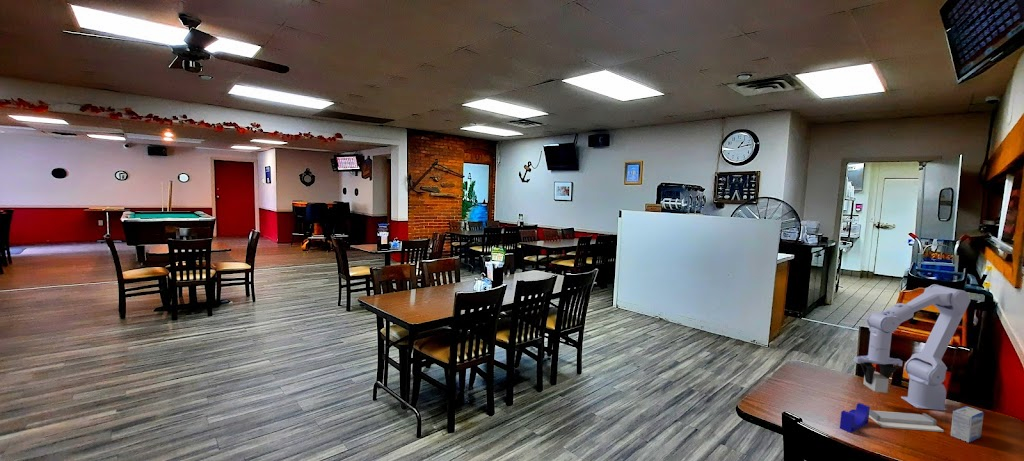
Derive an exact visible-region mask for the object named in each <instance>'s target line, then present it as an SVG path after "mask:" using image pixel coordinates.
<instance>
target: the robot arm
mask: <svg viewBox="0 0 1024 461" xmlns="http://www.w3.org/2000/svg"><path fill="white" fill-rule="evenodd" d="M970 303H971V298H970V296H969V294H968V292H967V291H965V290H962V289H956V288H951V287H947V286H943V285H939V284H937V283H936V284H935V283H934V284H931V285H930V286H928V287H925V288H924V290H923V292H922V293H921V294H919V295H918V296H916V297H914V298H913V299H911V300H909V301H908V302H906V303H902V302H898V303H895V304H894V305H893V306H891V307H889V308H886V309H884V310H883V311H881V312H876V311H875V312H873V313H870V314H869V316H868V318H867V319H866V322H867V325H868V330H869V332H870V333H869V340H868V342H869V343H868V352H867V355H858V356H857V355H856V356H854V358H853V362H854V363H856V364H859V365H860V366H861V370H862V371H863V374H864V375H865V380H866V382H867V383H869V384H872V379H873V374H874V372H876V369H877V368H876V367H875V366H874V365H879V373H880V374H882V375H883V376H884V377H886V378H888V379H889V380H890V378H891V376H892V375H893V374H894V373H895V372H896V371H897V367H896V366H899V367H903V362H904V361H903V360H902V359H900V358H895V357H894V358H893V357H890V353H891V343H892V335H893V332H896V330H897V329H898V327H899V326H901V324H902V323H904V322H906V321H908V320H910V319H912V318H914V315H915V314H914V313H916V312H919V311H921V310H923V309H925V308H928V307H930V306H934V307H935V308H936V309H938V311H939V315H938V317H937V319H936V322H935V323H934V325H933V327H932V330H931V332H930V334H929V335H928V338H927V339H926V342H925V344H924V346H923V348H922V351H920V352H916V353H912V354H911V356H910V358H909V359H908V360H907V361H906V362H905V364H904V370H905V372H906V373H907V377H908V378H909V381H908V391H907V396H900V398H901V399H902V400H903V401H905V402H906V403H908V404H910V405H912V406H913V407H914V408H915V409H916V408H917V409H922V410H923V409H925V410H937V411H947V408H945V406H946V398H947V389H946V387H945V385H944V384H943V382H944V381H945V380H946V373H947V370H948V367H947V366H946V364H945V363H944V361H943V357H944V354H945V353H946V351H947V349H948V347H949V345H950V342H951V341H952V339H953V337H954V335H955V333H956V330H957V328H958V326H959V325H960V322H961V320H962V318H963V317H964V315H965V313H966V311H967V309H968V307H969V305H970ZM864 375H863V376H864Z"/></svg>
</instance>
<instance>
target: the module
mask: <svg viewBox="0 0 1024 461" xmlns="http://www.w3.org/2000/svg"><path fill="white" fill-rule="evenodd" d="M889 381H890V378H889V379H888V378H886V377H884V376H883V375H882V374H880V372H878V371H874V374H873V379H872V384H869V383H867V382H866V380H865V375H863V385H864V386H866V387H867V388H869V389H870V390H871V391H873V392H876V393H886V394H888V389H889Z"/></svg>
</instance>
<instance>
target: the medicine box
mask: <svg viewBox="0 0 1024 461" xmlns="http://www.w3.org/2000/svg"><path fill="white" fill-rule="evenodd" d="M983 420H984V411H982V410H979V409H977V408H973V407H969V406H966V405H965V406H963V407H960V408H957V409H956V410H952V419H951V426H950V427H951V428H950V436H951V437H952V438H955V439H958V440H960V439H961V441H963V442H965V441H966V443H968V444H970V443H972V442H973V441H976V440H977V439H980V438H981V437H982V430H983ZM971 441H972V442H971ZM969 442H970V443H969Z"/></svg>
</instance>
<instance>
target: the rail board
mask: <svg viewBox="0 0 1024 461" xmlns="http://www.w3.org/2000/svg"><path fill="white" fill-rule="evenodd" d="M869 419H871V420H872V421H874V423H876V424H877V425H879V427H881V428H885V429H886V428H888V429H901V430H912V431H913V430H915V431H927V432H928V431H929V432H939V433H940V432H941V433H944V432H945V431H944V429H942V428H941V427H940V426H938V425H937V419H935V418H934V417H933V416H931V415H929V414H927V413H925V412H922V414H921V413H912V412H900V411H899V412H895V411H884V410H883V411H882V410H873V409H871V408H870V410H869Z"/></svg>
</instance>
